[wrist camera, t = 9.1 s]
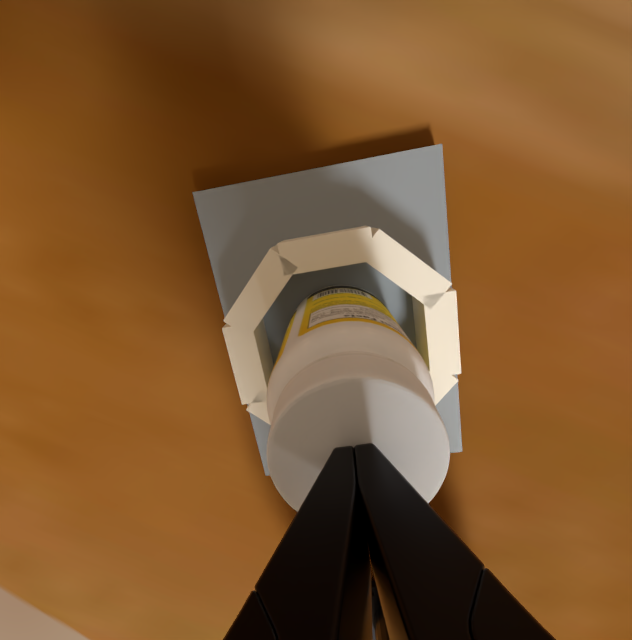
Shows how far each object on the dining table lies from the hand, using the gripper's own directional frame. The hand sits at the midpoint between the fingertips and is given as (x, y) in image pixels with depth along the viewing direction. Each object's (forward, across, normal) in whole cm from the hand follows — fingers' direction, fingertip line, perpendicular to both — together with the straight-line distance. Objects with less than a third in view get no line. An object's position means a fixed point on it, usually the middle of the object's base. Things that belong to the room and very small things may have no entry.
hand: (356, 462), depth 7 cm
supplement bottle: (+9, 0, 0) cm, 9 cm away
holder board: (+9, 0, 0) cm, 9 cm away
